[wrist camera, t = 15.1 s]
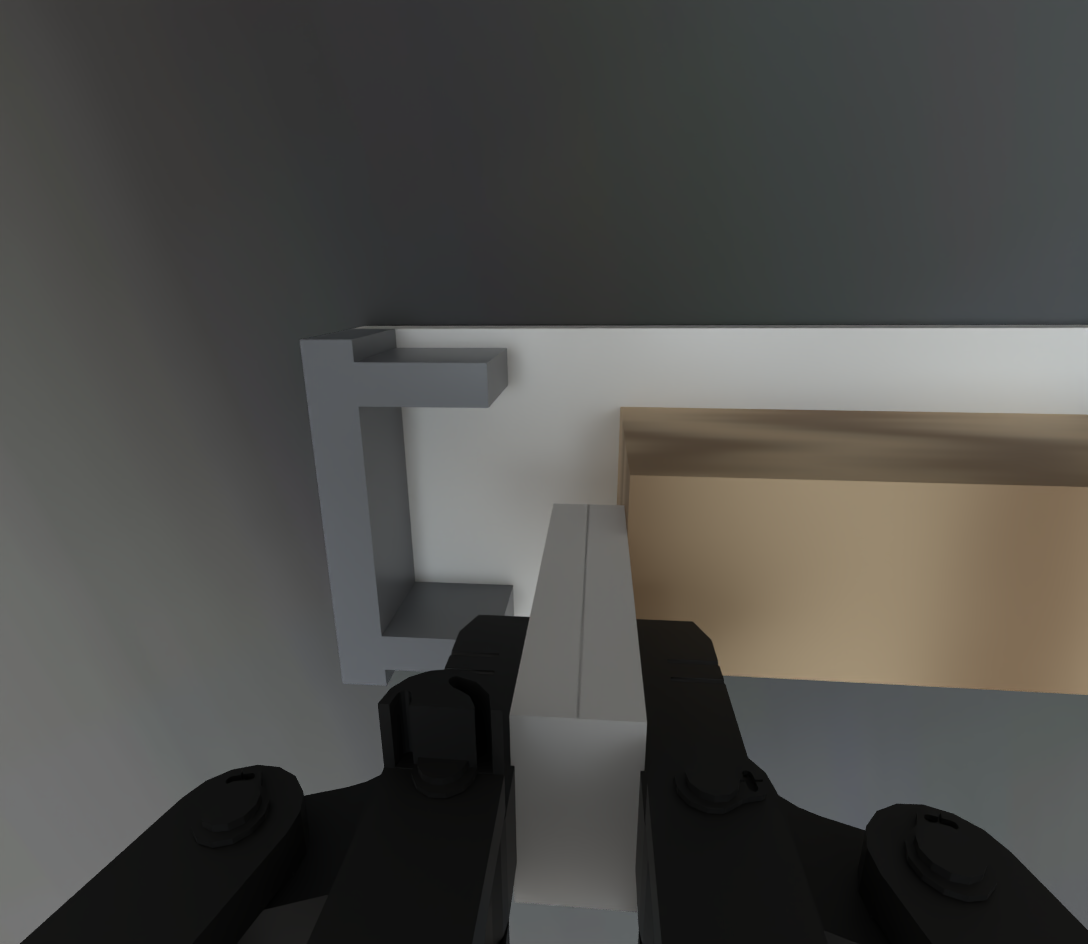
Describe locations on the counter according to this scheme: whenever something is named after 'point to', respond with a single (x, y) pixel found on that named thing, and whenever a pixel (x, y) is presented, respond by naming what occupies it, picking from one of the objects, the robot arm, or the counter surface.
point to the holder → (580, 440)
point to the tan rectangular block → (865, 542)
